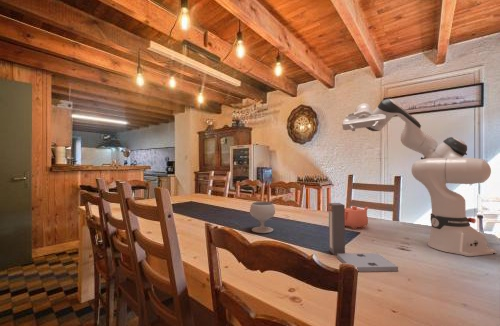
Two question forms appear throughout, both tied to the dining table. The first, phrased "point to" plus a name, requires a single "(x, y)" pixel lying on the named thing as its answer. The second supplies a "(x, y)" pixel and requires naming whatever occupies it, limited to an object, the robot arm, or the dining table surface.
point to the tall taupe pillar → (336, 228)
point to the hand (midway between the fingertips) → (363, 128)
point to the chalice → (262, 215)
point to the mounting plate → (367, 262)
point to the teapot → (356, 217)
